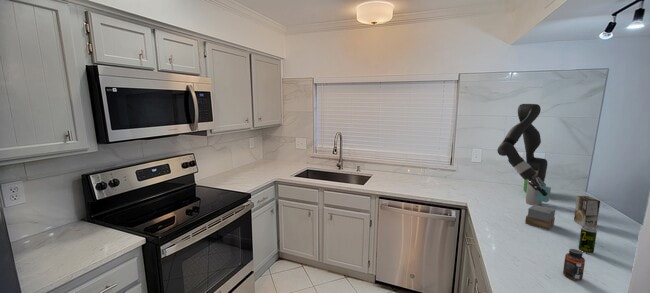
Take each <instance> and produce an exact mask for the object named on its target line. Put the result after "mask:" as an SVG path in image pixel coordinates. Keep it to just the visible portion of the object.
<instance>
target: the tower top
mask: <svg viewBox="0 0 650 293" xmlns="http://www.w3.org/2000/svg"><path fill="white" fill-rule="evenodd" d="M527 212H528V213H527V215H528V217H532V218H535V219H539V220H543V221H547V222H550V221H551V220H552V219H553V218H554V217H555V215H556V214H555V213H556V209H554V208H550V207H546V206H542V205H539V206H538V205H532V206H530V207H529V208H528V210H527Z"/></svg>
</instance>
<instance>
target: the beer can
mask: <svg viewBox="0 0 650 293" xmlns="http://www.w3.org/2000/svg"><path fill="white" fill-rule="evenodd" d="M597 233H598V230H597V227H596V228H594V227H591V226H582V225H581V227H580V234H579V242H578V250H579V251H580V250H581V251H583V252H582V253H584V252H586V253H585V254H587V253H593V254H594V252H595V246H596V239H597Z"/></svg>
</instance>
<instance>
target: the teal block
mask: <svg viewBox="0 0 650 293" xmlns="http://www.w3.org/2000/svg"><path fill="white" fill-rule="evenodd" d="M541 187H542V188H543V190H544V191H545V192H546V193H547V194H548V195H546V196H543V195H542V194H541V193H540V192H539V191H538V190H537V195H536V200H537V201H542V203H546V204H547V203H548V202H550V198H551V193H550V192H551V189H552V187H550V186H547V185H546V186H541Z"/></svg>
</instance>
